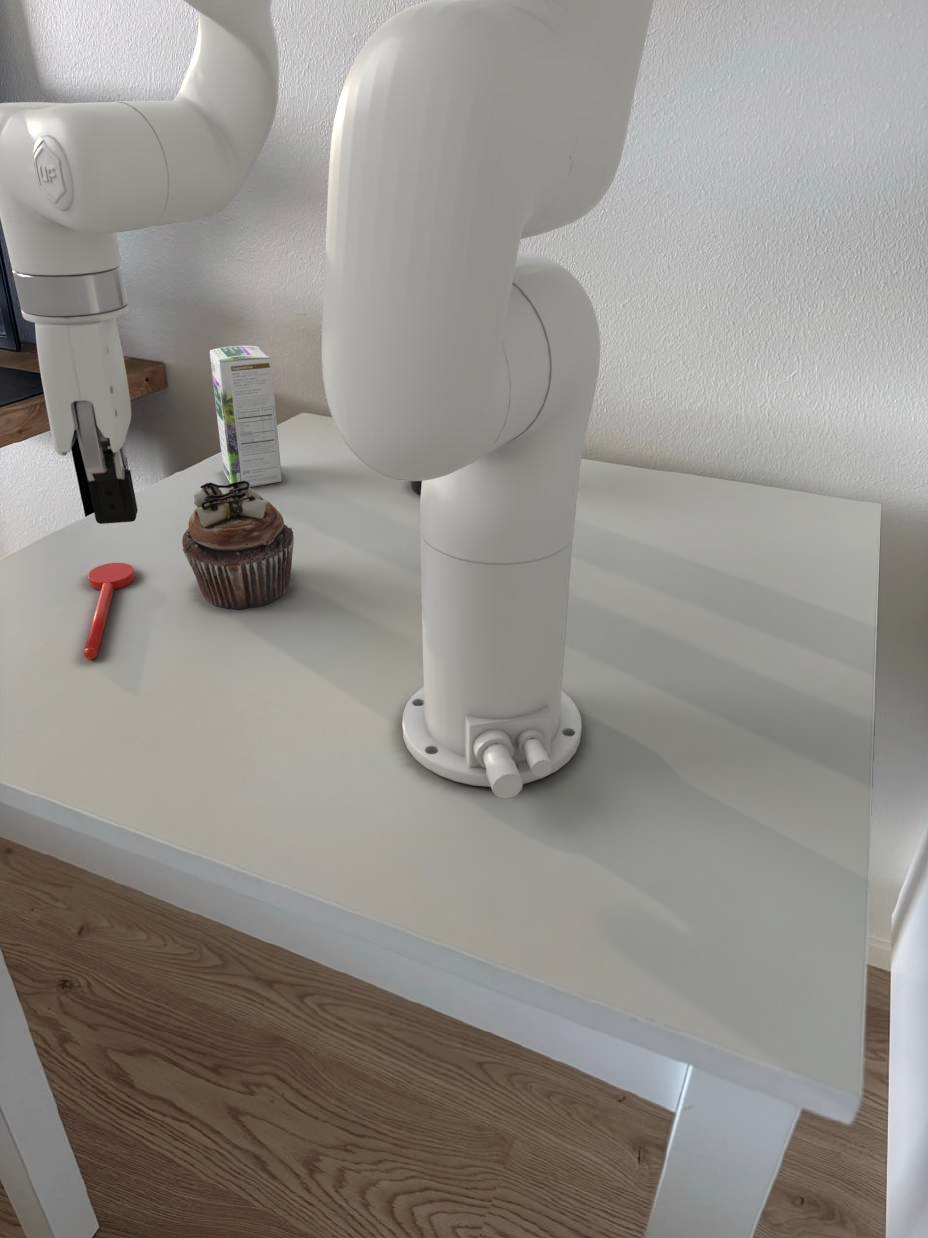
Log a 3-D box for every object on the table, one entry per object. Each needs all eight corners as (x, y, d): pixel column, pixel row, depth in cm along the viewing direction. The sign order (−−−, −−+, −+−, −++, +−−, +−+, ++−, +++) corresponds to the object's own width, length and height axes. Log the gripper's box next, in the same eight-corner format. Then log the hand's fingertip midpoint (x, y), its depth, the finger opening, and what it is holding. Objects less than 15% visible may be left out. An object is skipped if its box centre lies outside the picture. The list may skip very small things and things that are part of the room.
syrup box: (222, 473, 106) (205, 348, 99) (272, 465, 108) (259, 342, 101) (233, 490, 102) (216, 360, 94) (285, 482, 104) (272, 354, 97)
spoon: (117, 658, 72) (115, 648, 71) (64, 664, 71) (61, 653, 71) (137, 568, 85) (135, 558, 85) (92, 572, 85) (90, 562, 84)
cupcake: (314, 598, 80) (304, 494, 75) (204, 624, 77) (186, 515, 71) (281, 556, 88) (270, 457, 83) (179, 577, 84) (162, 475, 79)
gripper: (38, 275, 73) (83, 487, 82) (-4, 317, 60) (55, 562, 70) (135, 273, 74) (169, 482, 84) (114, 314, 62) (156, 554, 71)
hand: (117, 518), depth 77 cm, fingers closed
